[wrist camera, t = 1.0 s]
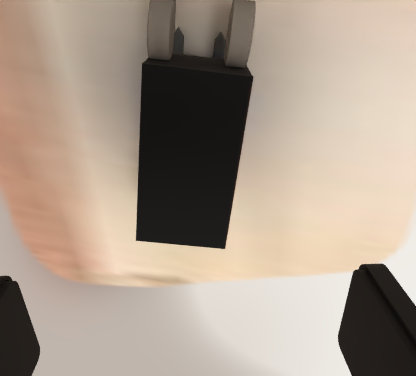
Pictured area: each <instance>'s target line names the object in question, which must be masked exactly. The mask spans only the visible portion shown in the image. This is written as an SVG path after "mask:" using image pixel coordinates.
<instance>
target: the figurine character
mask: <svg viewBox="0 0 416 376" xmlns="http://www.w3.org/2000/svg"><path fill="white" fill-rule="evenodd" d="M175 11H176V0H150V4H149V12H148V28H147V47H148V57H149V58H148V59H147V60H146V61H145V62H143V63H142V83H141V112H140V141H139V170H138V199H137V228H136V241H146V242H156V243H167V244H178V245H188V246H199V247H210V248H220V249H225V246H226V240H227V234H228V228H229V222H230V215H231V209H232V203H233V197H234V191H235V185H236V179H237V173H238V167H239V161H240V155H241V149H242V143H243V137H244V131H245V124H246V118H247V112H248V106H249V100H250V94H251V88H252V82H253V76H252V75H251V73H250V71H249V69H248V67H247V65H246V64H247V61H248V57H249V52H250V47H251V42H252V36H253V29H254V20H255V1H250V0H233V2H232V7H231V13H230V19H229V26H228V33H227V42H226V40H225V38H224V36H223V34H222V33H221V32H220V34H219V35H218V36H217V38H216V39H215V43H214V54H213V58H205V57H197V56H189V55H183V43H184V35H183V34H182V32H181V30H180V28H178V29H177V30H176V32H175V33H174V31H175ZM225 47H226V51H225ZM224 56H225V60H224Z"/></svg>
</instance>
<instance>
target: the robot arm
mask: <svg viewBox="0 0 416 376" xmlns="http://www.w3.org/2000/svg"><path fill="white" fill-rule="evenodd" d="M338 342H339V346H340V349H341V351H342V354H343V356H344V358H345V361H346V363H347V365H348V368H349V370H350V372H351V375H352V376H416V306H415V304H414V303H413V302H412V301H411V299H410V298H409V296H408V295H407V294H406V292H405V291H404V290H403V289H402V287H401V286H400V284H399V283H398V282H397V280H396V279H395V277H394V276H393V275H392V273H391V272H390V271H389V269H388V268H387V267H386V266H385V265H384V264H362V265H361V266H360V267H359V269H358V270H355V271H354V272H353V275H352V279H351V284H350V288H349V292H348V296H347V300H346V304H345V309H344V313H343V317H342V321H341V325H340V330H339V334H338ZM39 355H40V346H39V343H38V340H37V337H36V334H35V332H34V328H33V325H32V323H31V320H30V317H29V314H28V311H27V308H26V305H25V302H24V299H23V296H22V293H21V290H20V288H19V285H18V283H17V282H16V281H12V279H11V277H9V276H0V376H32V373H33V371H34V369H35V366H36V364H37V362H38V359H39Z"/></svg>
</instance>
